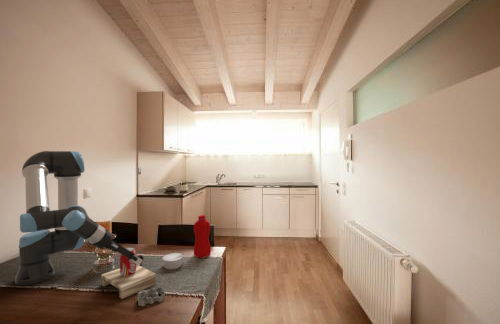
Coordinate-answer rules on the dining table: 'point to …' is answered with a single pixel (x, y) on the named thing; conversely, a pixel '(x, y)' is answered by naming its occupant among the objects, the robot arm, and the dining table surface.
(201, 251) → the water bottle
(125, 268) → the soda can
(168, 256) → the ramekin
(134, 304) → the dining table surface
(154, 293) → the egg carton
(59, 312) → the dining table surface
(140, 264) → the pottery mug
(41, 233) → the robot arm
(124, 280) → the birch stand
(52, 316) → the dining table surface
